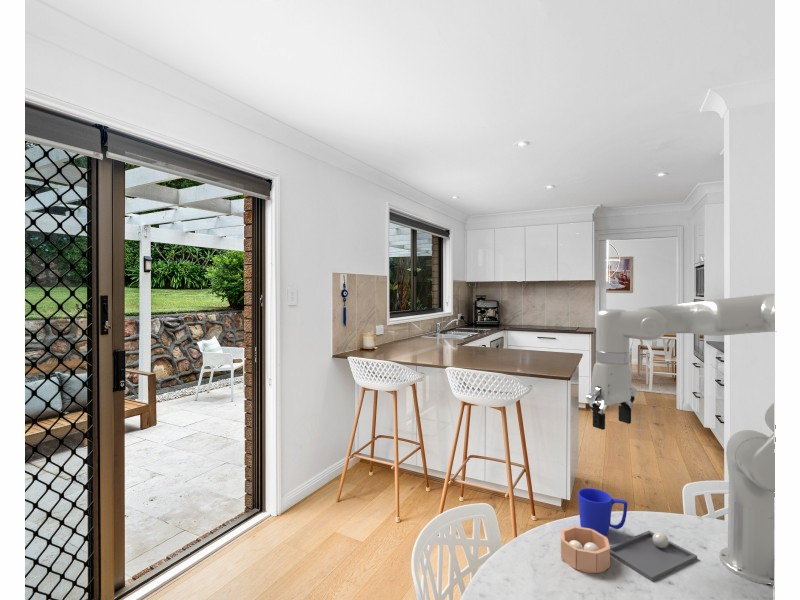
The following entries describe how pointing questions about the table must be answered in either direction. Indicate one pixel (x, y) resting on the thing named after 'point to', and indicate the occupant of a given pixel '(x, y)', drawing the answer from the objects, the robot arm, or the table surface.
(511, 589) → the table surface
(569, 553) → the bowl
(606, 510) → the mug
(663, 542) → the white ball
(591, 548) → the white ball
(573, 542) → the white ball
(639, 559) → the tray
